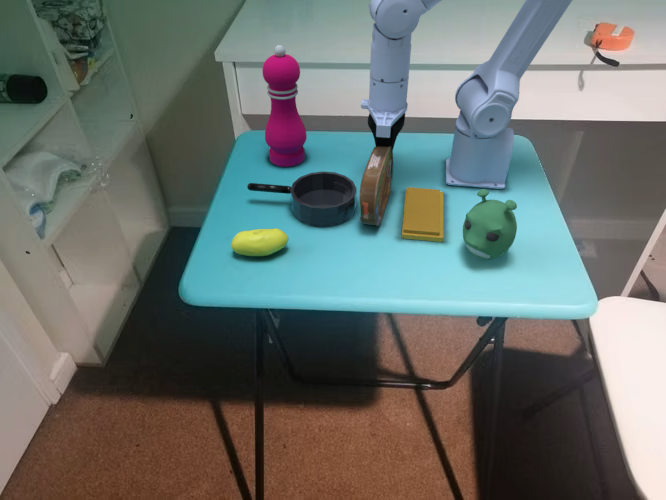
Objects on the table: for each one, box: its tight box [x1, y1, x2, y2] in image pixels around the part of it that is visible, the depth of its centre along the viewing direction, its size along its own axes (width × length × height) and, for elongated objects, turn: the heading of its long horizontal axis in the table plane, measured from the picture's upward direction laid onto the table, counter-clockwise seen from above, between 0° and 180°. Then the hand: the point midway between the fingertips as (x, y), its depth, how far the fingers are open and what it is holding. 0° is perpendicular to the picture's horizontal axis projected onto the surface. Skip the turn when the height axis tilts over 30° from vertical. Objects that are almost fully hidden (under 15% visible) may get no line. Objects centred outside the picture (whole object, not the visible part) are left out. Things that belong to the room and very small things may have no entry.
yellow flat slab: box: [401, 186, 445, 243], centre depth 82 cm, size 6×12×1 cm, turn 171°
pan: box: [290, 171, 358, 228], centre depth 83 cm, size 10×10×4 cm
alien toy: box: [462, 188, 518, 260], centre depth 72 cm, size 7×8×10 cm
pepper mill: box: [261, 44, 308, 168], centre depth 90 cm, size 7×7×20 cm
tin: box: [358, 146, 394, 227], centre depth 82 cm, size 15×3×8 cm, turn 166°
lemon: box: [230, 228, 290, 257], centre depth 75 cm, size 4×8×4 cm, turn 95°
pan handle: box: [246, 182, 292, 195], centre depth 84 cm, size 7×1×1 cm, turn 81°
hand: (384, 156), depth 88 cm, fingers closed
